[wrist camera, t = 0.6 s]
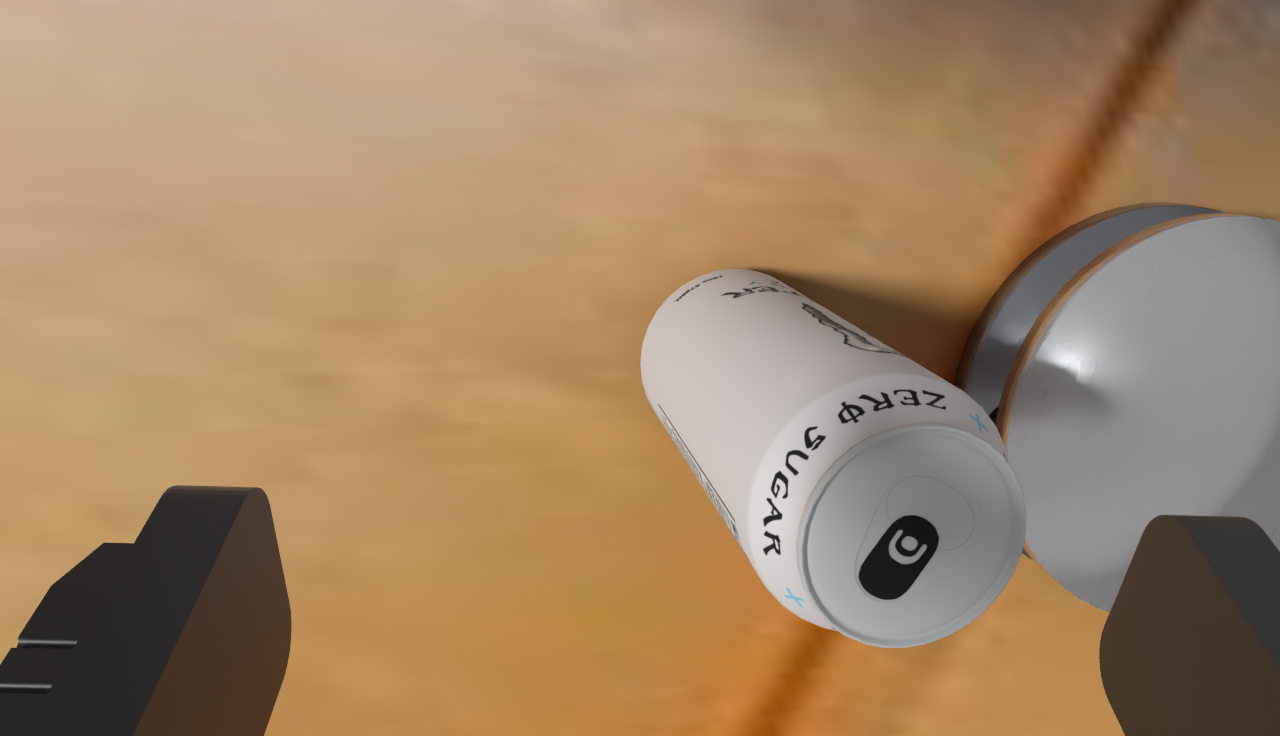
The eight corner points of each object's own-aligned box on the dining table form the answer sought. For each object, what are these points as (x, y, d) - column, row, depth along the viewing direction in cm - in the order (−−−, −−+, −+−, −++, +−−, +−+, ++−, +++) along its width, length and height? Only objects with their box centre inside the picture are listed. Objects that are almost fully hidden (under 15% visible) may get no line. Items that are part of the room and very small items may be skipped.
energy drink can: (842, 324, 35) (1110, 488, 21) (743, 467, 36) (937, 719, 22) (702, 228, 34) (890, 338, 19) (600, 381, 34) (710, 594, 20)
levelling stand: (876, 393, 36) (927, 429, 32) (1181, 117, 36) (1269, 122, 32) (1084, 635, 41) (1150, 693, 37) (1359, 394, 40) (1455, 427, 36)
